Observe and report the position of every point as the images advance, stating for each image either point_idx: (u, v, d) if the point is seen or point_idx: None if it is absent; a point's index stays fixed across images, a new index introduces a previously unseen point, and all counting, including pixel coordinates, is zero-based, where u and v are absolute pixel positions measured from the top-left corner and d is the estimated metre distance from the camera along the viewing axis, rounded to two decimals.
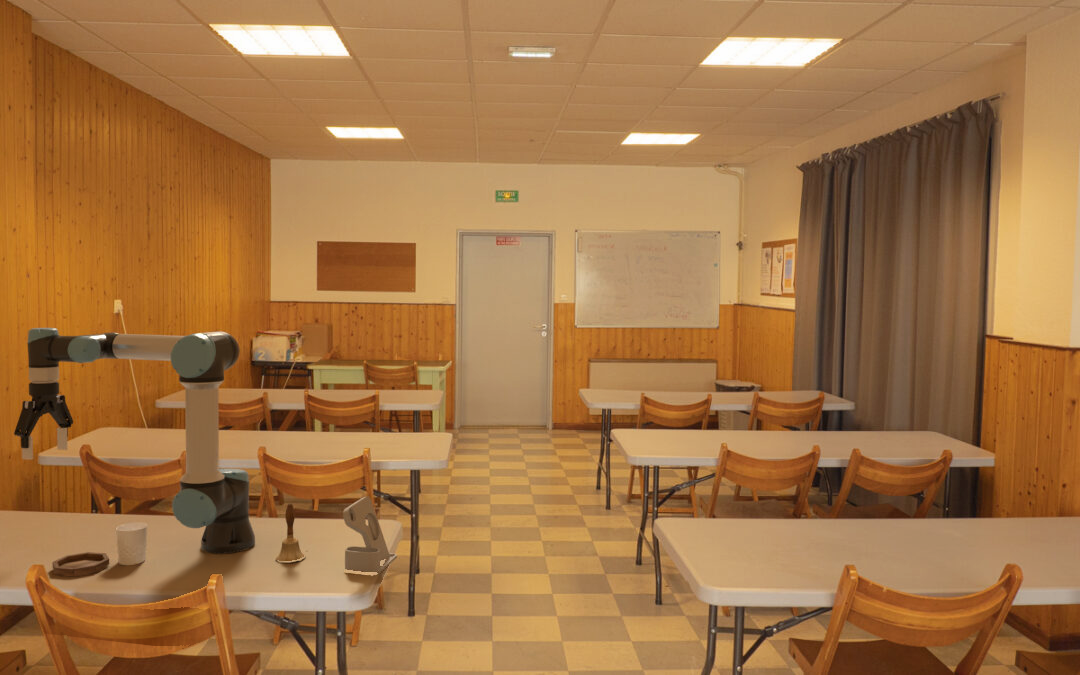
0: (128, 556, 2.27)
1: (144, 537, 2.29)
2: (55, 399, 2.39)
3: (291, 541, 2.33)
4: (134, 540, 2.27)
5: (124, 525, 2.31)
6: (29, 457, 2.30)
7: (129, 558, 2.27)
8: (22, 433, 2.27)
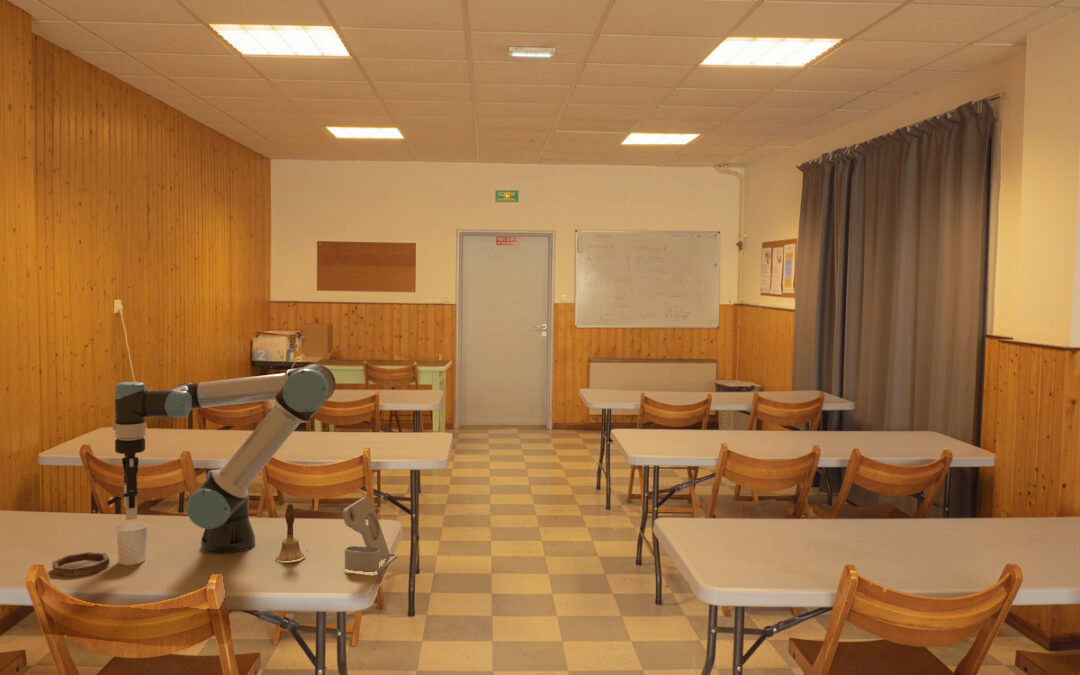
0: (128, 556, 2.27)
1: (144, 537, 2.29)
2: None
3: (291, 541, 2.33)
4: (134, 540, 2.27)
5: (124, 525, 2.31)
6: (135, 516, 2.23)
7: (129, 558, 2.27)
8: (137, 492, 2.21)
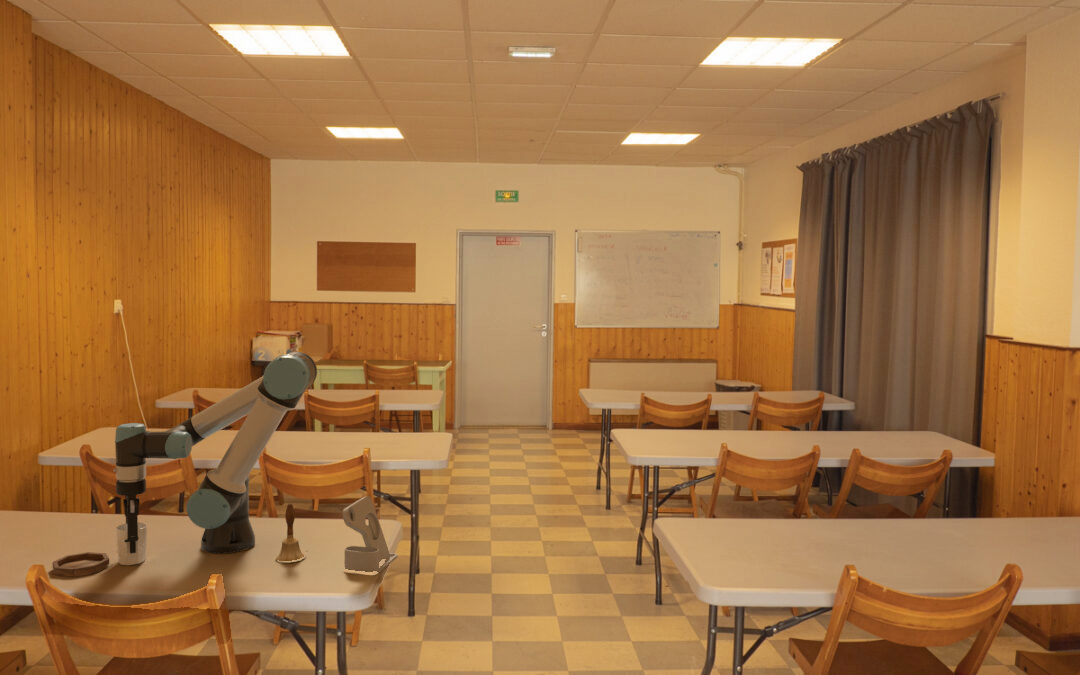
0: None
1: (144, 537, 2.29)
2: None
3: (291, 541, 2.33)
4: None
5: (124, 525, 2.31)
6: (136, 561, 2.27)
7: None
8: (137, 538, 2.24)
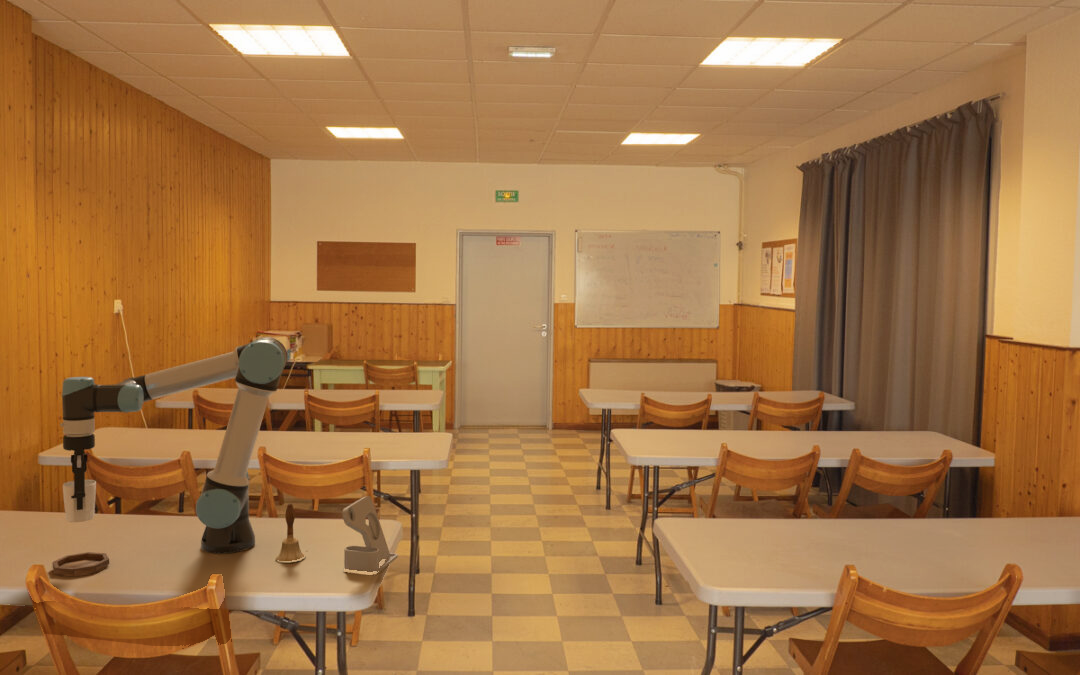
0: None
1: (92, 494, 2.22)
2: None
3: (291, 541, 2.33)
4: None
5: (72, 482, 2.24)
6: (83, 518, 2.20)
7: None
8: (84, 494, 2.17)
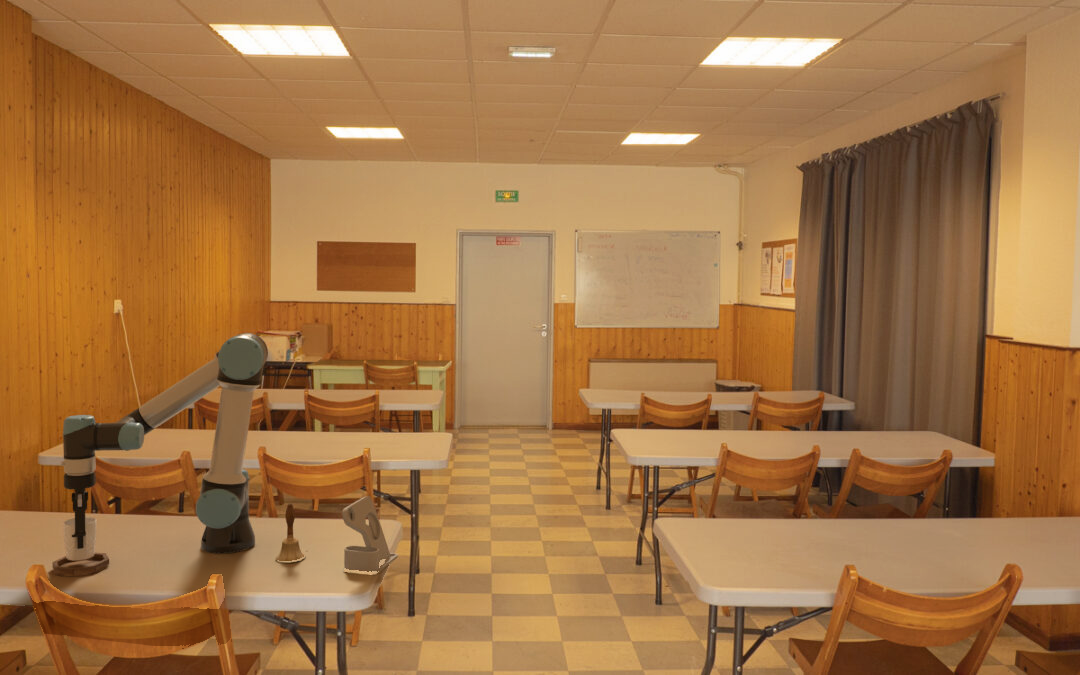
0: None
1: (93, 532, 2.23)
2: None
3: (291, 541, 2.33)
4: None
5: (72, 519, 2.25)
6: (84, 557, 2.20)
7: None
8: (85, 533, 2.18)
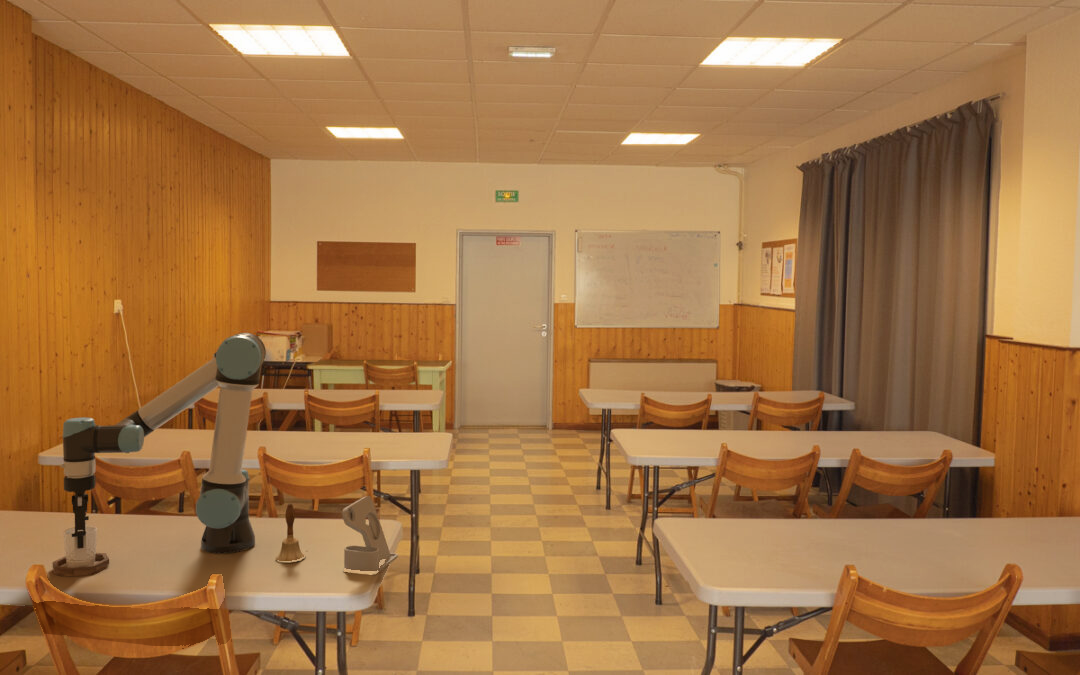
0: (76, 560, 2.20)
1: (93, 541, 2.23)
2: None
3: (291, 541, 2.33)
4: None
5: (73, 528, 2.25)
6: (84, 557, 2.18)
7: (77, 562, 2.20)
8: (85, 532, 2.15)
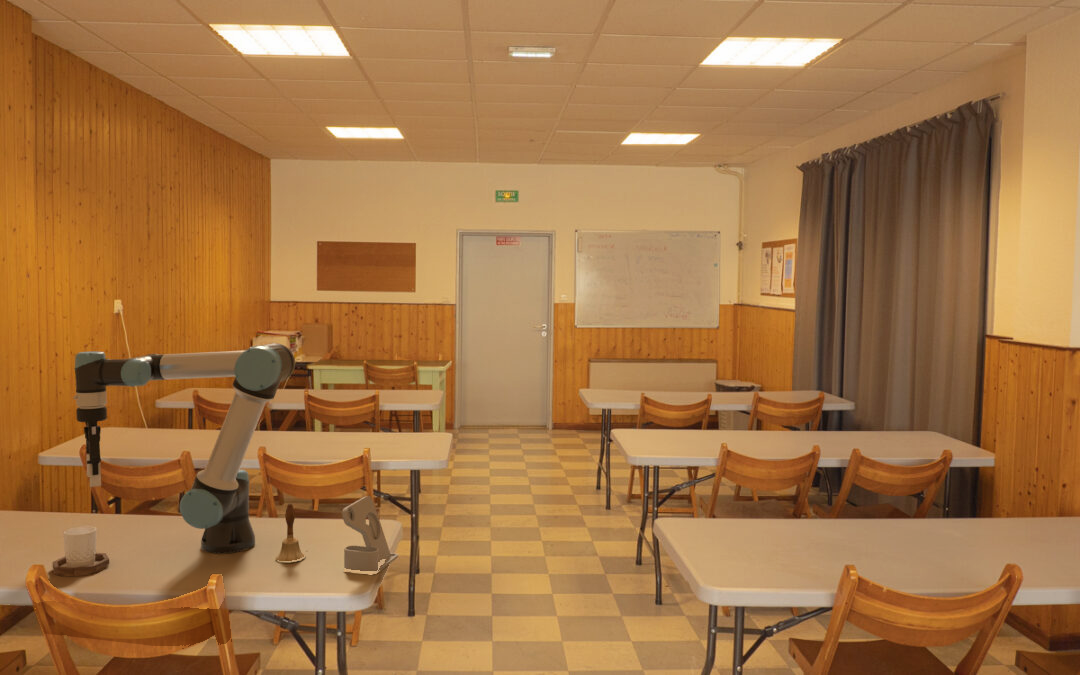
0: (76, 561, 2.20)
1: (93, 541, 2.23)
2: None
3: (291, 541, 2.33)
4: (82, 545, 2.20)
5: (73, 529, 2.25)
6: (99, 483, 2.26)
7: (77, 562, 2.20)
8: (100, 459, 2.23)
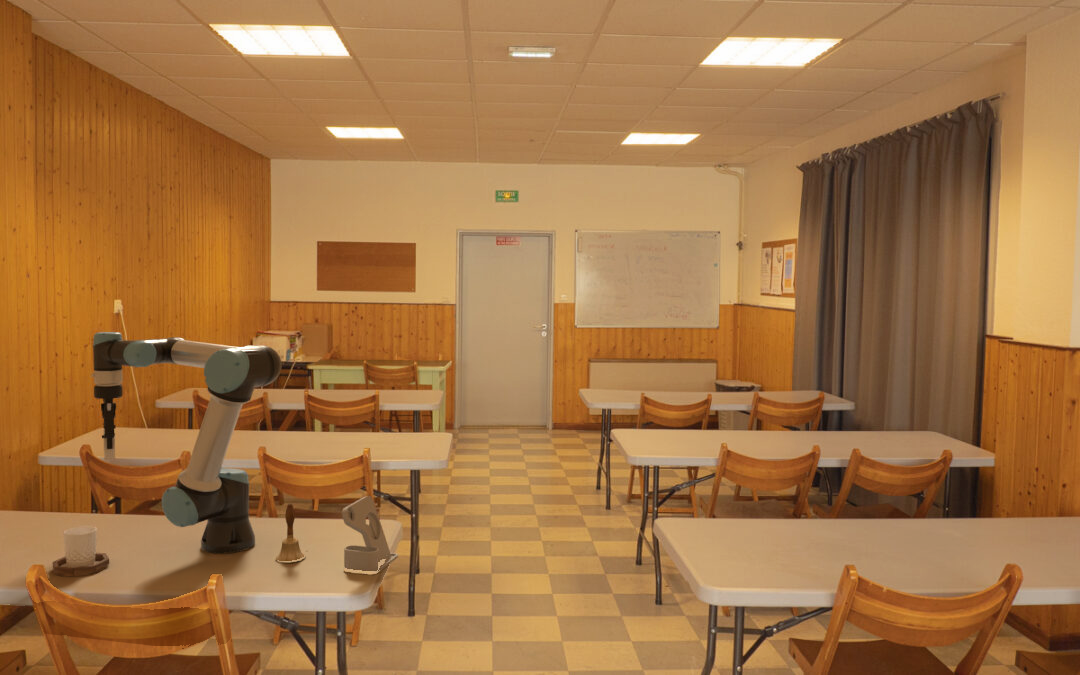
0: (76, 561, 2.20)
1: (93, 541, 2.23)
2: None
3: (291, 541, 2.33)
4: (82, 545, 2.20)
5: (73, 528, 2.25)
6: (113, 457, 2.37)
7: (77, 562, 2.20)
8: (114, 434, 2.35)
